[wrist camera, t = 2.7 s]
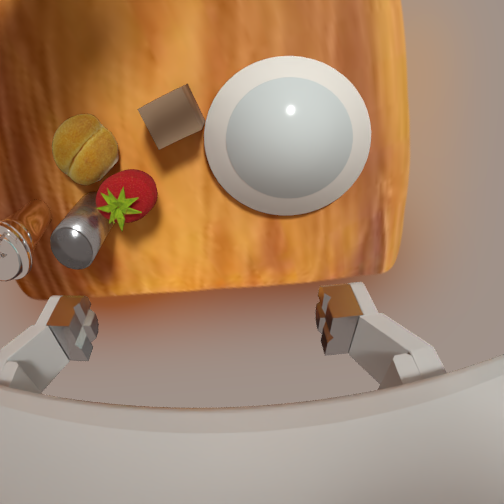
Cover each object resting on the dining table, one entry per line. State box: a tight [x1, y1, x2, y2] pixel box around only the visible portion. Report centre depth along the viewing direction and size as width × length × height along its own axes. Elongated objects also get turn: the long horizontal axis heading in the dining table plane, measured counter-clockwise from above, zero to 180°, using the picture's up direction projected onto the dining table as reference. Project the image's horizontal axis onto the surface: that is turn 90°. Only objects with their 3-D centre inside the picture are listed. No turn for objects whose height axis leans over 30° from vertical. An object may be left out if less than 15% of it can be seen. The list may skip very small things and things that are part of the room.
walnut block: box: [138, 84, 205, 150], centre depth 32 cm, size 5×5×5 cm
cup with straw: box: [0, 199, 52, 281], centre depth 31 cm, size 8×9×20 cm
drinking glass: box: [50, 192, 114, 269], centre depth 36 cm, size 6×6×9 cm
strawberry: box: [96, 169, 158, 231], centre depth 34 cm, size 6×8×10 cm
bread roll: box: [52, 114, 119, 185], centre depth 33 cm, size 8×9×4 cm
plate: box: [204, 56, 371, 215], centre depth 36 cm, size 20×20×1 cm
